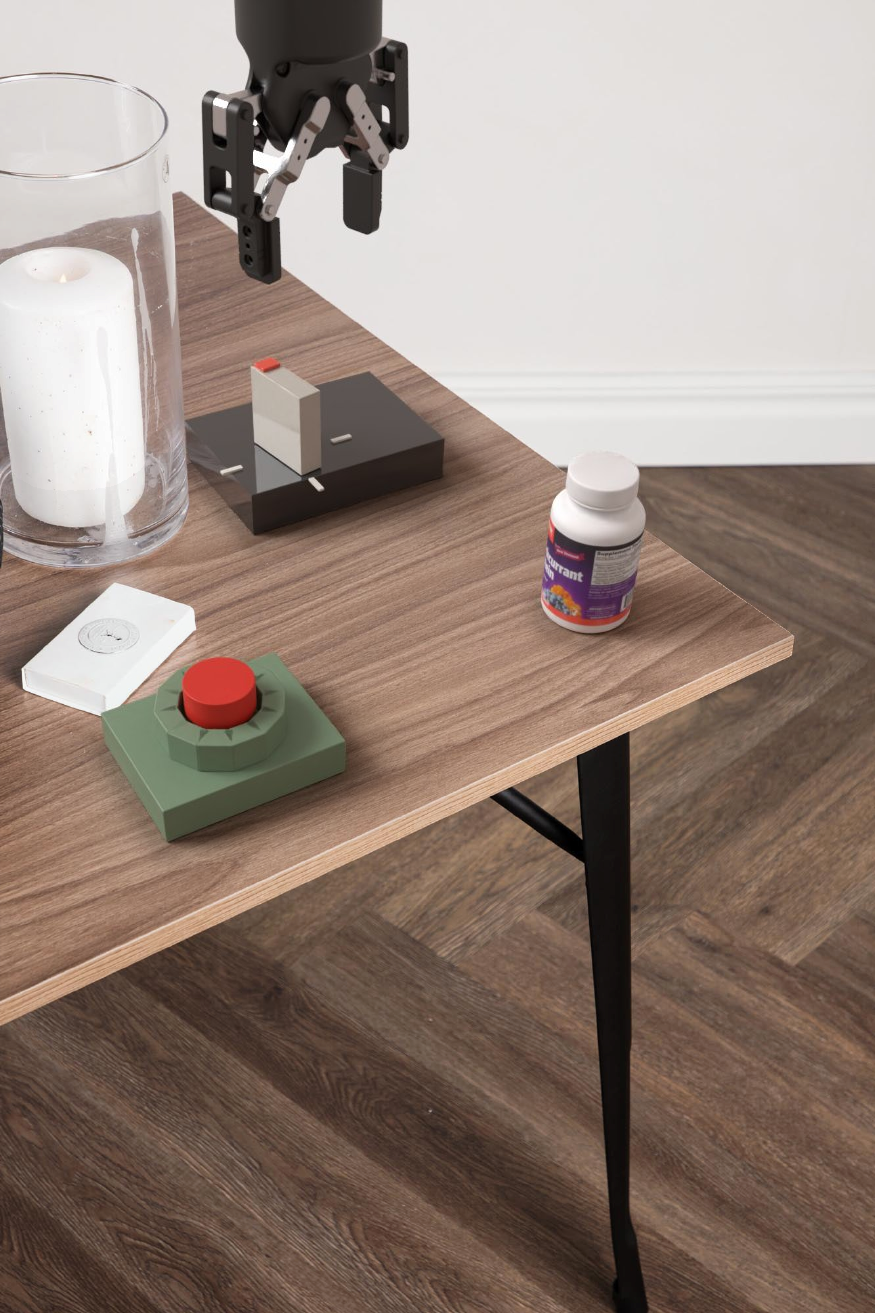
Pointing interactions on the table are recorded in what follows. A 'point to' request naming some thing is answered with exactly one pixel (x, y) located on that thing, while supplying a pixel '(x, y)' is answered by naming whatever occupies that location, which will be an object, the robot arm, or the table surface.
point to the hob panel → (352, 455)
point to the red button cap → (219, 693)
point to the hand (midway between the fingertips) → (313, 253)
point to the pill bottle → (594, 544)
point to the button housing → (222, 751)
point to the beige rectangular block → (286, 416)
